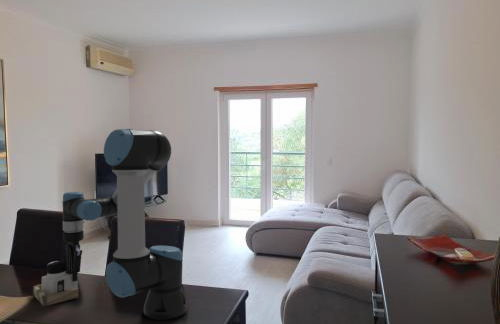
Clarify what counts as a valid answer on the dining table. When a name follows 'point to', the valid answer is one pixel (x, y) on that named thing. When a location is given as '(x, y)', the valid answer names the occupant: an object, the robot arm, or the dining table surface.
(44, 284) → the container
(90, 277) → the dining table surface
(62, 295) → the corral
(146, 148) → the robot arm
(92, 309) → the dining table surface
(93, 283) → the dining table surface
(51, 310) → the dining table surface
